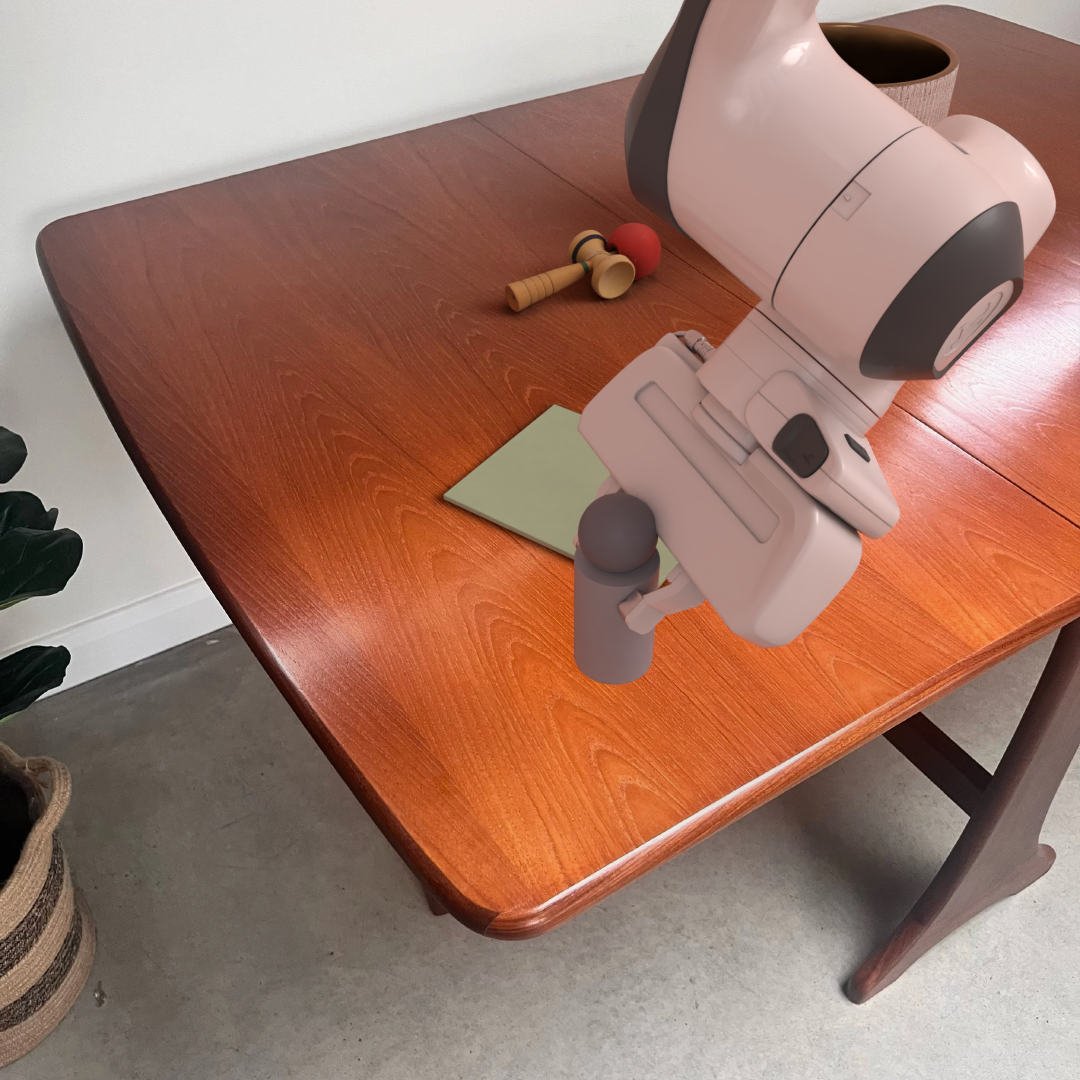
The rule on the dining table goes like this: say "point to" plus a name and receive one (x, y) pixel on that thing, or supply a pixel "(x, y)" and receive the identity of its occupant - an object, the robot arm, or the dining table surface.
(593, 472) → the mat
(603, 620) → the ball
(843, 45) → the planter
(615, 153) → the dining table surface
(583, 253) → the kendama
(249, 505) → the dining table surface
